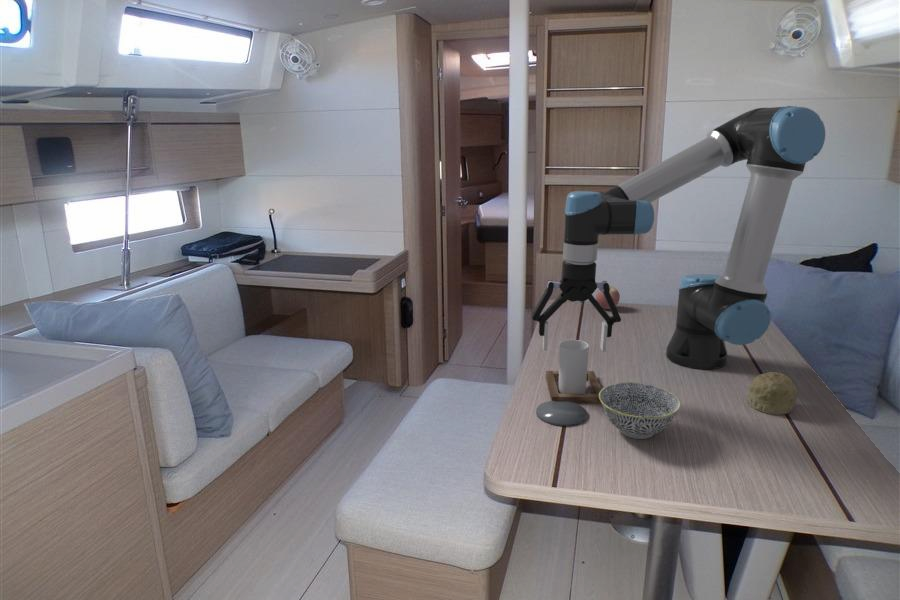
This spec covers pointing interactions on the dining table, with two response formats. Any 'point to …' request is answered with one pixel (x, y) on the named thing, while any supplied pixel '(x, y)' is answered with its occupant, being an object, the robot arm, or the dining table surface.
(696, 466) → the dining table surface
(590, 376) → the holder
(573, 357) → the mug
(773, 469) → the dining table surface
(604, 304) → the apple
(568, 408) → the coaster
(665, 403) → the bowl
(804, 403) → the dining table surface
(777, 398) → the decorative object
